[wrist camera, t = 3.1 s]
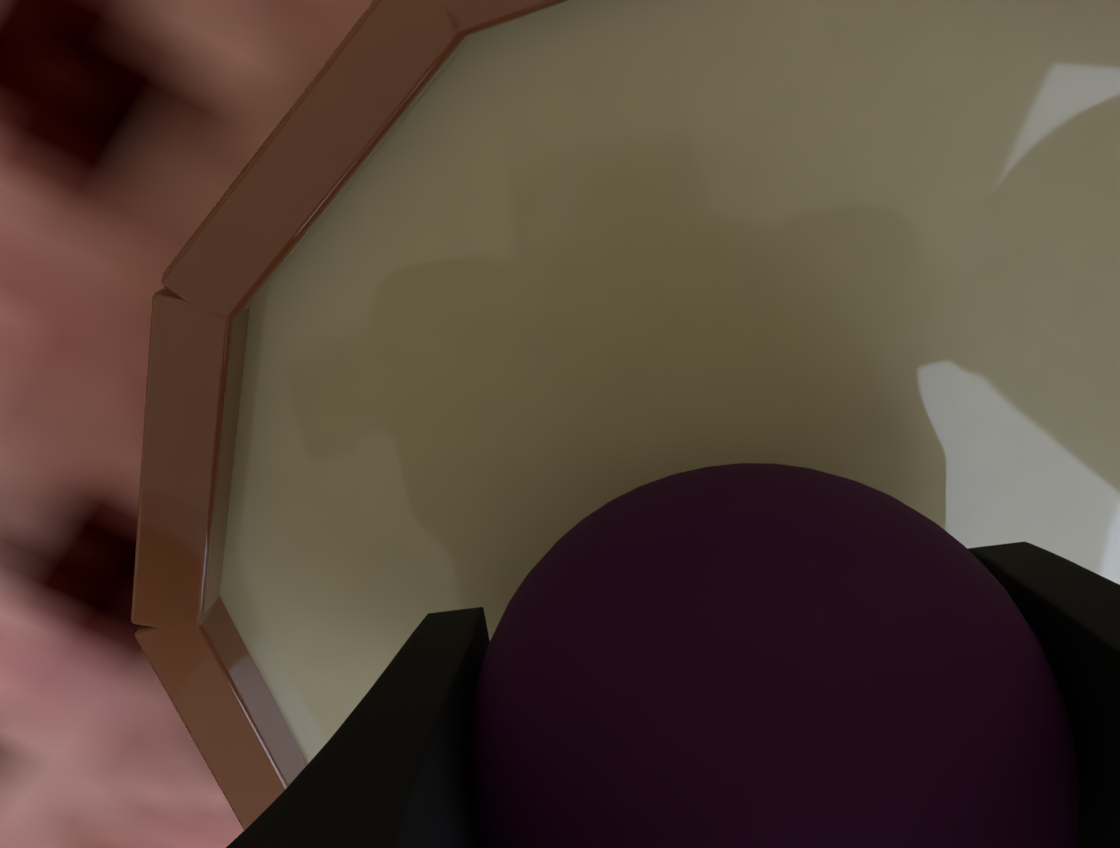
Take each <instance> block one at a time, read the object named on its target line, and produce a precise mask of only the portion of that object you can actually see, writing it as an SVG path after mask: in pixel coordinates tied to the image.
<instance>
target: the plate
mask: <svg viewBox="0 0 1120 848" xmlns="http://www.w3.org/2000/svg"><path fill="white" fill-rule="evenodd" d="M161 282H162V283H163V285H164V286H165V287H164V288H162V289H160V290H159V291H157V292H156V293H155V294H154V296H153V298H152V313H151V328H150V343H149V358H148V373H147V388H146V403H145V418H144V433H143V448H142V462H141V477H140V492H139V507H138V522H137V537H136V552H135V567H134V582H133V597H132V612H131V621H132V623H134V624H138V625H139V627H138V628H137V630H136V631H135V638H136V639H137V641H138V643H139V645H140V646H141V648H142V650H143V652H144V653H145V655H146V657H147V659H148V661H149V662H150V664H151V666H152V668H153V669H154V671H155V673H156V675H157V676H158V678H159V680H160V682H161V684H162V685H163V687H164V689H165V691H166V692H167V694H168V696H169V698H170V699H171V701H172V703H173V705H174V707H175V708H176V710H177V712H178V714H179V715H180V717H181V719H182V721H183V722H184V724H185V726H186V728H187V730H188V731H189V733H190V735H191V737H192V738H193V740H194V742H195V744H196V745H197V747H198V749H199V751H200V753H201V754H202V756H203V758H204V760H205V761H206V763H207V765H208V767H209V769H210V770H211V772H212V774H213V776H214V777H215V779H216V781H217V783H218V784H219V786H220V788H221V790H222V792H223V793H224V795H225V797H226V799H227V800H228V802H229V804H230V806H231V807H232V809H233V811H234V813H235V815H236V816H237V818H238V820H239V822H240V823H241V825H242V827H243V829H244V830H246V829H247V828H248V827H249V826H250V825H251V824H252V823H253V822H254V821H255V820H256V819H257V818H258V817H259V816H260V815H261V814H262V813H263V812H264V811H265V810H266V809H267V808H268V807H269V806H270V805H271V804H272V803H273V802H274V801H275V800H276V799H277V798H278V797H279V796H280V795H281V794H282V792H283V791H284V790H285V789H286V788H287V787H288V786H289V785H290V784H291V782H292V781H293V780H294V779H295V778H296V777H297V776H298V775H299V773H300V772H301V771H302V770H303V769H304V768H305V767H306V766H307V765H308V763H309V762H310V761H311V760H312V759H313V758H314V757H315V756H316V754H317V753H318V752H319V751H320V750H321V749H322V748H323V747H324V745H325V744H326V743H327V742H328V741H329V740H330V738H331V737H332V736H333V735H334V734H335V732H336V731H337V730H338V729H339V727H340V726H341V725H342V724H343V722H344V721H345V720H346V719H347V717H348V716H349V715H350V714H351V712H352V711H353V710H354V709H355V707H356V706H357V705H358V704H359V702H360V701H361V700H362V699H363V697H364V696H365V695H366V694H367V692H368V691H369V690H370V689H371V687H372V686H373V685H374V683H375V682H376V681H377V679H378V678H379V677H380V675H381V674H382V673H383V671H384V670H385V669H386V668H387V666H388V665H389V664H390V662H391V661H392V659H393V658H394V657H395V655H396V654H397V653H398V651H399V650H400V649H401V647H402V646H403V645H404V643H405V642H406V641H407V639H408V638H409V637H410V635H411V634H412V633H413V632H414V630H415V629H416V628H417V626H418V625H419V624H420V623H421V621H422V620H423V619H424V618H425V617H426V615H427V614H428V613H435V612H444V611H452V610H460V609H469V608H477V607H483V608H484V614H485V619H486V624H487V629H488V635H489V640H491V638H492V636H493V634H494V632H495V630H496V628H497V626H498V624H499V622H500V620H501V618H502V616H503V613H504V611H505V609H506V607H507V605H508V603H509V601H510V600H511V598H512V597H513V595H514V594H515V592H516V591H517V589H518V588H519V586H520V585H521V583H522V582H523V580H524V579H525V577H526V576H527V574H528V573H529V572H530V571H531V570H532V569H533V568H534V567H535V566H536V564H537V563H538V562H539V561H540V560H541V559H542V558H543V557H544V555H545V554H546V553H547V552H548V551H549V550H550V549H551V548H552V547H553V545H554V544H555V543H556V542H557V541H558V540H559V539H560V538H561V537H562V536H564V535H565V534H566V533H567V532H568V531H569V530H571V529H572V528H573V527H574V526H575V525H576V524H578V523H579V522H580V521H581V520H582V519H584V518H585V517H587V516H588V515H590V514H591V513H593V512H594V511H596V510H597V509H599V508H600V507H602V506H603V505H605V504H606V503H608V502H609V501H611V500H613V499H615V498H617V497H619V496H621V495H623V494H625V493H627V492H629V491H631V490H633V489H635V488H637V487H639V486H642V485H644V484H647V483H650V482H653V481H656V480H659V479H661V478H664V477H667V476H670V475H673V474H677V473H681V472H686V471H690V470H695V469H699V468H703V467H709V466H719V465H728V464H738V463H768V464H782V465H790V466H797V467H804V468H811V469H814V470H818V471H822V472H825V473H829V474H833V475H837V476H840V477H844V478H847V479H850V480H854V481H857V482H859V483H862V484H864V485H867V486H869V487H871V488H874V489H876V490H879V491H881V492H884V493H886V494H888V495H890V496H892V497H894V498H895V499H897V500H899V501H901V502H902V503H904V504H906V505H907V506H909V507H911V508H913V509H914V510H916V511H918V512H919V513H921V514H922V515H924V516H926V517H927V518H929V519H930V520H932V521H933V522H935V523H937V524H938V525H939V526H940V527H942V528H943V529H944V530H945V531H947V532H948V533H949V534H950V535H952V536H953V537H954V538H955V539H957V540H958V541H959V542H960V543H962V544H963V545H964V546H965V547H966V548H975V547H983V546H992V545H1000V544H1008V543H1017V542H1028V543H1030V544H1033V545H1035V546H1038V547H1040V548H1043V549H1045V550H1047V551H1050V552H1052V553H1054V554H1056V555H1059V556H1061V557H1063V558H1065V559H1067V560H1069V561H1071V562H1074V563H1076V564H1078V565H1080V566H1082V567H1084V568H1086V569H1088V570H1090V571H1092V572H1094V573H1096V574H1098V575H1100V576H1103V577H1105V578H1107V579H1109V580H1111V581H1113V582H1115V583H1117V584H1119V585H1120V0H374V1H373V2H372V3H371V5H370V6H369V7H368V9H367V10H366V11H365V12H364V14H363V15H362V16H361V18H360V19H359V20H358V22H357V23H356V24H355V25H354V27H353V28H352V29H351V31H350V32H349V33H348V34H347V36H346V37H345V38H344V40H343V41H342V42H341V44H340V45H339V46H338V47H337V49H336V50H335V51H334V53H333V54H332V55H331V56H330V58H329V59H328V60H327V62H326V63H325V64H324V66H323V67H322V68H321V69H320V71H319V72H318V73H317V75H316V76H315V77H314V78H313V80H312V81H311V82H310V84H309V85H308V86H307V88H306V89H305V90H304V91H303V93H302V94H301V95H300V97H299V98H298V99H297V101H296V102H295V103H294V104H293V106H292V107H291V108H290V110H289V111H288V112H287V113H286V115H285V116H284V117H283V119H282V120H281V121H280V123H279V124H278V125H277V126H276V128H275V129H274V130H273V132H272V133H271V134H270V135H269V137H268V138H267V139H266V141H265V142H264V143H263V145H262V146H261V147H260V148H259V150H258V151H257V152H256V154H255V155H254V156H253V157H252V159H251V160H250V161H249V163H248V164H247V165H246V167H245V168H244V169H243V170H242V172H241V173H240V174H239V176H238V177H237V178H236V180H235V181H234V182H233V183H232V185H231V186H230V187H229V189H228V190H227V191H226V192H225V194H224V195H223V196H222V198H221V199H220V200H219V202H218V203H217V204H216V205H215V207H214V208H213V209H212V211H211V212H210V213H209V214H208V216H207V217H206V218H205V220H204V221H203V222H202V224H201V225H200V226H199V227H198V229H197V230H196V231H195V233H194V234H193V235H192V236H191V238H190V239H189V240H188V242H187V243H186V244H185V246H184V247H183V248H182V249H181V251H180V252H179V253H178V255H177V256H176V257H175V258H174V260H173V261H172V262H171V264H170V265H169V266H168V268H167V269H166V270H165V271H164V273H163V275H162V279H161Z"/></svg>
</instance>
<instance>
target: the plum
mask: <svg viewBox="0 0 1120 848" xmlns="http://www.w3.org/2000/svg"><path fill="white" fill-rule="evenodd" d="M468 765H469V780H470V795H471V809H472V815H473V821H474V826H475V831H476V837H477V842H478V847H479V848H1076V847H1077V838H1078V828H1079V777H1078V762H1077V756H1076V750H1075V745H1074V740H1073V735H1072V730H1071V726H1070V722H1069V718H1068V714H1067V710H1066V706H1065V701H1064V698H1063V695H1062V693H1061V690H1060V688H1059V686H1058V683H1057V681H1056V678H1055V676H1054V673H1053V671H1052V668H1051V666H1050V664H1049V662H1048V659H1047V657H1046V655H1045V653H1044V650H1043V648H1042V646H1041V644H1040V641H1039V639H1038V638H1037V636H1036V635H1035V633H1034V632H1033V630H1032V629H1031V627H1030V626H1029V624H1028V623H1027V621H1026V620H1025V618H1024V617H1023V615H1022V614H1021V612H1020V610H1019V609H1018V607H1017V606H1016V604H1015V603H1014V601H1013V600H1012V598H1011V597H1010V595H1009V594H1008V592H1007V591H1006V589H1005V588H1004V587H1003V586H1002V585H1001V584H1000V583H999V582H998V580H997V579H996V578H995V577H994V576H993V575H992V574H991V573H990V572H989V571H988V570H987V568H986V567H985V566H984V565H983V564H982V563H981V562H980V561H979V560H978V559H977V558H976V557H975V556H974V555H973V554H972V553H971V552H970V551H969V550H968V549H967V548H966V547H965V546H964V545H963V544H962V543H960V542H959V541H958V540H957V539H955V538H954V537H953V536H952V535H950V534H949V533H948V532H947V531H945V530H944V529H943V528H942V527H940V526H939V525H938V524H937V523H935V522H933V521H932V520H930V519H929V518H927V517H926V516H924V515H922V514H921V513H919V512H918V511H916V510H914V509H913V508H911V507H909V506H907V505H906V504H904V503H902V502H901V501H899V500H897V499H895V498H894V497H892V496H890V495H888V494H886V493H884V492H881V491H879V490H876V489H874V488H871V487H869V486H867V485H864V484H862V483H859V482H857V481H854V480H850V479H847V478H844V477H840V476H837V475H833V474H829V473H825V472H822V471H818V470H814V469H811V468H804V467H797V466H790V465H782V464H768V463H738V464H728V465H719V466H709V467H703V468H699V469H695V470H690V471H686V472H681V473H677V474H673V475H670V476H667V477H664V478H661V479H659V480H656V481H653V482H650V483H647V484H644V485H642V486H639V487H637V488H635V489H633V490H631V491H629V492H627V493H625V494H623V495H621V496H619V497H617V498H615V499H613V500H611V501H609V502H608V503H606V504H605V505H603V506H602V507H600V508H599V509H597V510H596V511H594V512H593V513H591V514H590V515H588V516H587V517H585V518H584V519H582V520H581V521H580V522H579V523H578V524H576V525H575V526H574V527H573V528H572V529H571V530H569V531H568V532H567V533H566V534H565V535H564V536H562V537H561V538H560V539H559V540H558V541H557V542H556V543H555V544H554V545H553V547H552V548H551V549H550V550H549V551H548V552H547V553H546V554H545V555H544V557H543V558H542V559H541V560H540V561H539V562H538V563H537V564H536V566H535V567H534V568H533V569H532V570H531V571H530V572H529V573H528V574H527V576H526V577H525V579H524V580H523V582H522V583H521V585H520V586H519V588H518V589H517V591H516V592H515V594H514V595H513V597H512V598H511V600H510V601H509V603H508V605H507V607H506V609H505V611H504V613H503V616H502V618H501V620H500V622H499V624H498V626H497V628H496V630H495V632H494V634H493V636H492V638H491V640H490V643H489V645H488V647H487V649H486V653H485V656H484V659H483V662H482V666H481V669H480V672H479V675H478V679H477V683H476V688H475V692H474V696H473V701H472V708H471V721H470V735H469V749H468Z"/></svg>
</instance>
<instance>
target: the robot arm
mask: <svg viewBox="0 0 1120 848" xmlns="http://www.w3.org/2000/svg"><path fill="white" fill-rule="evenodd" d="M967 549H968V550H969V551H970V552H971V553H972V554H973V555H974V556H975V557H976V558H977V559H978V560H979V561H980V562H981V563H982V564H983V565H984V566H985V567H986V568H987V570H988V571H989V572H990V573H991V574H992V575H993V576H994V577H995V578H996V579H997V580H998V582H999V583H1000V584H1001V585H1002V586H1003V587H1004V588H1005V589H1006V591H1007V592H1008V594H1009V595H1010V597H1011V598H1012V600H1013V601H1014V603H1015V604H1016V606H1017V607H1018V609H1019V610H1020V612H1021V614H1022V615H1023V617H1024V618H1025V620H1026V621H1027V623H1028V624H1029V626H1030V627H1031V629H1032V630H1033V632H1034V633H1035V635H1036V636H1037V638H1038V639H1039V641H1040V644H1041V646H1042V648H1043V650H1044V653H1045V655H1046V657H1047V659H1048V662H1049V664H1050V666H1051V668H1052V671H1053V673H1054V676H1055V678H1056V681H1057V683H1058V686H1059V688H1060V690H1061V693H1062V695H1063V698H1064V701H1065V706H1066V710H1067V714H1068V718H1069V722H1070V726H1071V730H1072V735H1073V740H1074V745H1075V750H1076V756H1077V762H1078V777H1079V828H1078V838H1077V847H1076V848H1120V585H1119V584H1117V583H1115V582H1113V581H1111V580H1109V579H1107V578H1105V577H1103V576H1100V575H1098V574H1096V573H1094V572H1092V571H1090V570H1088V569H1086V568H1084V567H1082V566H1080V565H1078V564H1076V563H1074V562H1071V561H1069V560H1067V559H1065V558H1063V557H1061V556H1059V555H1056V554H1054V553H1052V552H1050V551H1047V550H1045V549H1043V548H1040V547H1038V546H1035V545H1033V544H1030V543H1028V542H1017V543H1008V544H1000V545H992V546H983V547H975V548H967ZM489 643H490V640H489V635H488V629H487V624H486V619H485V614H484V608H483V607H477V608H469V609H460V610H452V611H444V612H435V613H428V614H427V615H426V617H425V618H424V619H423V620H422V621H421V623H420V624H419V625H418V626H417V628H416V629H415V630H414V632H413V633H412V634H411V635H410V637H409V638H408V639H407V641H406V642H405V643H404V645H403V646H402V647H401V649H400V650H399V651H398V653H397V654H396V655H395V657H394V658H393V659H392V661H391V662H390V664H389V665H388V666H387V668H386V669H385V670H384V671H383V673H382V674H381V675H380V677H379V678H378V679H377V681H376V682H375V683H374V685H373V686H372V687H371V689H370V690H369V691H368V692H367V694H366V695H365V696H364V697H363V699H362V700H361V701H360V702H359V704H358V705H357V706H356V707H355V709H354V710H353V711H352V712H351V714H350V715H349V716H348V717H347V719H346V720H345V721H344V722H343V724H342V725H341V726H340V727H339V729H338V730H337V731H336V732H335V734H334V735H333V736H332V737H331V738H330V740H329V741H328V742H327V743H326V744H325V745H324V747H323V748H322V749H321V750H320V751H319V752H318V753H317V754H316V756H315V757H314V758H313V759H312V760H311V761H310V762H309V763H308V765H307V766H306V767H305V768H304V769H303V770H302V771H301V772H300V773H299V775H298V776H297V777H296V778H295V779H294V780H293V781H292V782H291V784H290V785H289V786H288V787H287V788H286V789H285V790H284V791H283V792H282V794H281V795H280V796H279V797H278V798H277V799H276V800H275V801H274V802H273V803H272V804H271V805H270V806H269V807H268V808H267V809H266V810H265V811H264V812H263V813H262V814H261V815H260V816H259V817H258V818H257V819H256V820H255V821H254V822H253V823H252V824H251V825H250V826H249V827H248V828H247V829H246V830H245V831H244V832H242V833H241V834H240V835H239V836H238V837H237V838H236V839H235V840H234V841H233V842H232V843H231V844H230V845H228V846H227V847H226V848H479V847H478V842H477V837H476V831H475V826H474V821H473V815H472V809H471V795H470V780H469V765H468V749H469V735H470V721H471V708H472V701H473V696H474V692H475V688H476V683H477V679H478V675H479V672H480V669H481V666H482V662H483V659H484V656H485V653H486V649H487V647H488V645H489Z"/></svg>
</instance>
